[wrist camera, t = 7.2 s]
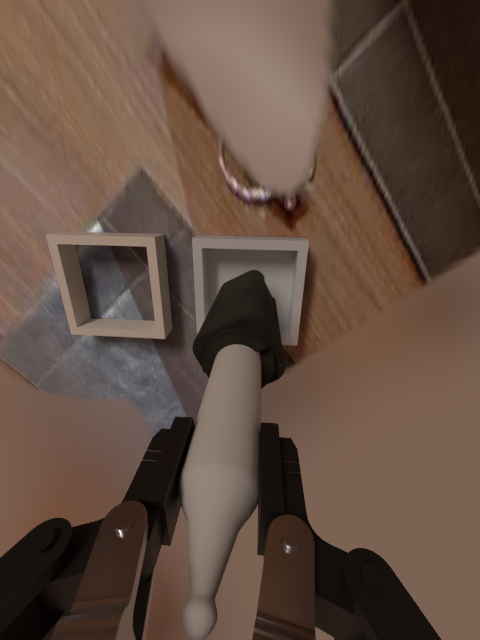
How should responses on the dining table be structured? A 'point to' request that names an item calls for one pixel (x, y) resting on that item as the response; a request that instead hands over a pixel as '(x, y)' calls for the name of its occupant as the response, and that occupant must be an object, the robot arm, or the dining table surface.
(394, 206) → the dining table surface
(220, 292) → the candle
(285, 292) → the grey tray
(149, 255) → the grey frame
